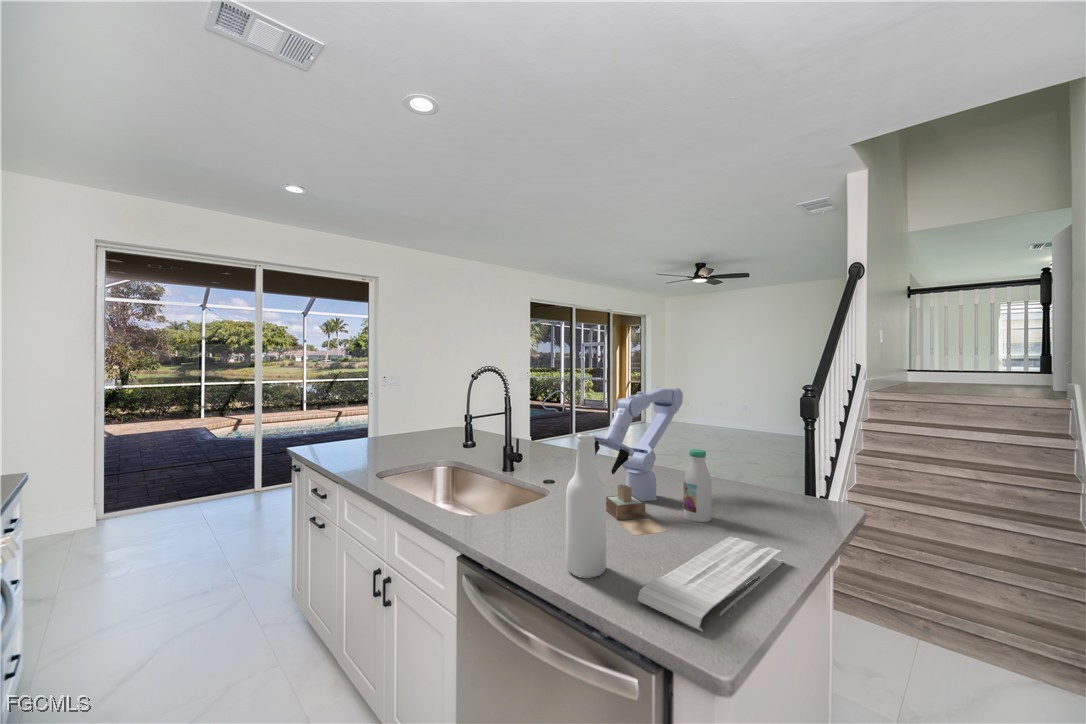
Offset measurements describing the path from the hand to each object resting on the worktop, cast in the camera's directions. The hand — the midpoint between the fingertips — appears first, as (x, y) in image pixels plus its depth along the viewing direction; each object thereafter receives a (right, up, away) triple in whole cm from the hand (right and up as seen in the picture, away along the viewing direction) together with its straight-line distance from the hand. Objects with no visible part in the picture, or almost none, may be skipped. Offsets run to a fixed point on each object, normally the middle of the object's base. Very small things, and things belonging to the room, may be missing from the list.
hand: (600, 468), depth 135 cm
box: (+7, -13, -2) cm, 15 cm away
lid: (+7, -10, -2) cm, 12 cm away
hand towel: (+19, -14, -42) cm, 48 cm away
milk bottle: (+28, -14, -5) cm, 31 cm away
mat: (+10, -13, -12) cm, 21 cm away
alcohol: (-8, -14, -37) cm, 40 cm away
